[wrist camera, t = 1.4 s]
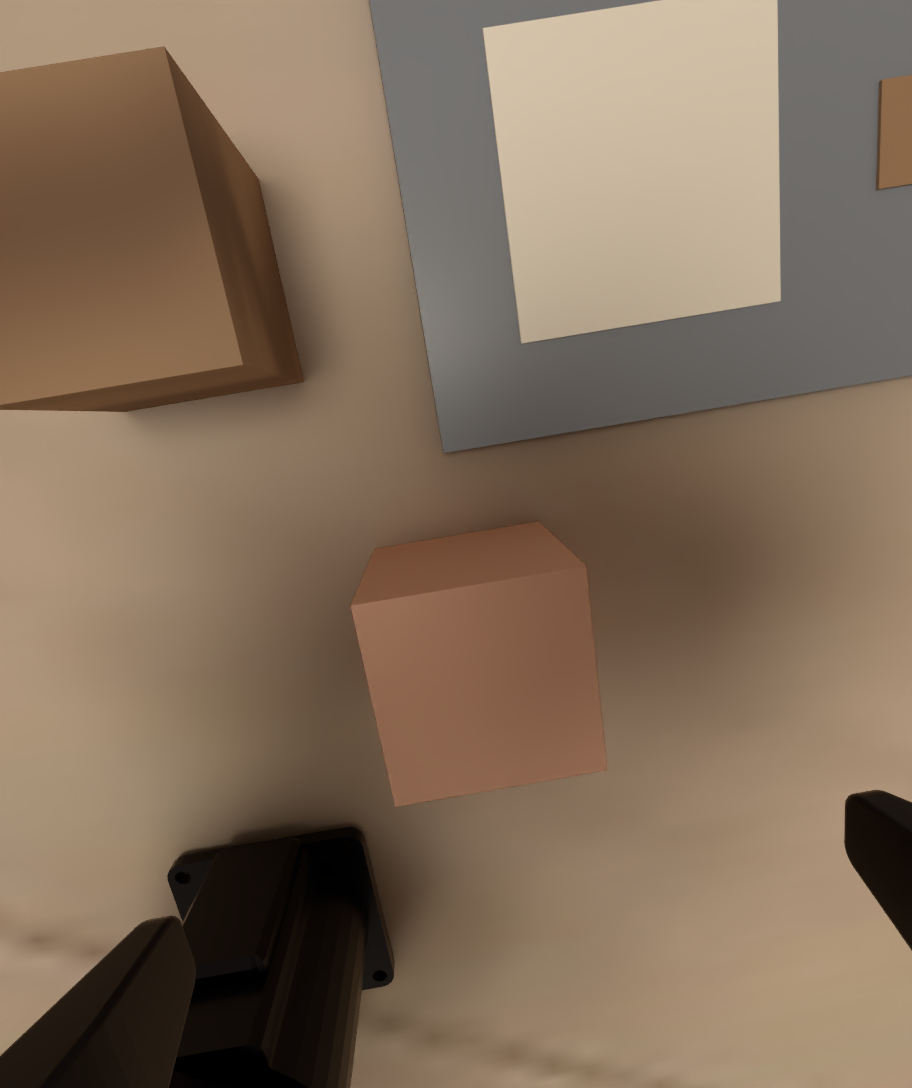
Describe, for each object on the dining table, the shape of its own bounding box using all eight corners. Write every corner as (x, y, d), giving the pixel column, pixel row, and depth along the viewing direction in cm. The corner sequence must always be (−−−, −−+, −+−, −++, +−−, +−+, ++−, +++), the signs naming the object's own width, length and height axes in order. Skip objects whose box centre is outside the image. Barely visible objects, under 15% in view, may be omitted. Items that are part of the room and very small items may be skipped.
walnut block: (304, 382, 15) (243, 365, 10) (126, 411, 15) (-25, 408, 10) (259, 180, 13) (164, 46, 9) (65, 211, 13) (-143, 94, 9)
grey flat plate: (984, 362, 15) (1010, 359, 15) (443, 451, 15) (444, 453, 14) (1024, -165, 12) (1058, -197, 12) (358, -62, 12) (355, -90, 12)
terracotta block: (556, 669, 17) (607, 770, 12) (404, 695, 17) (395, 806, 12) (538, 520, 16) (586, 565, 11) (374, 547, 16) (350, 605, 11)
